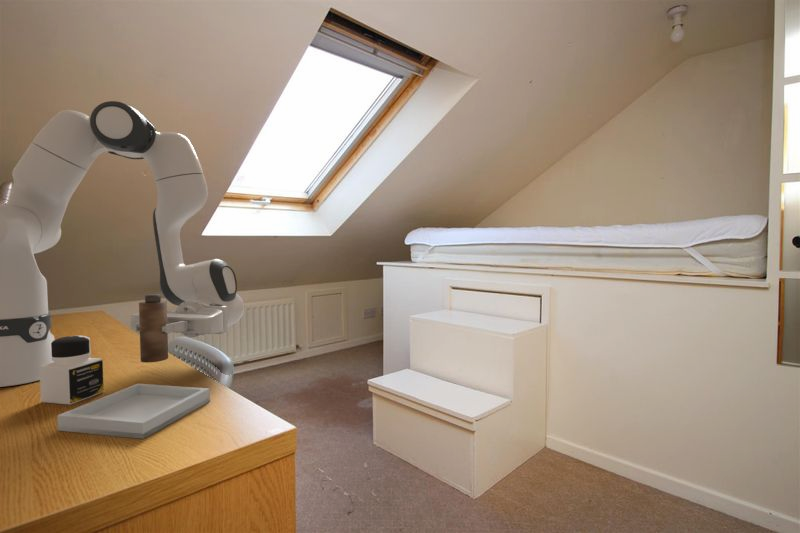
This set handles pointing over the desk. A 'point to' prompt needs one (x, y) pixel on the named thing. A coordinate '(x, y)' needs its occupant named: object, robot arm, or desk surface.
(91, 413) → the pale dish
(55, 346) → the medicine bottle
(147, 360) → the walnut pepper mill
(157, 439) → the desk surface
